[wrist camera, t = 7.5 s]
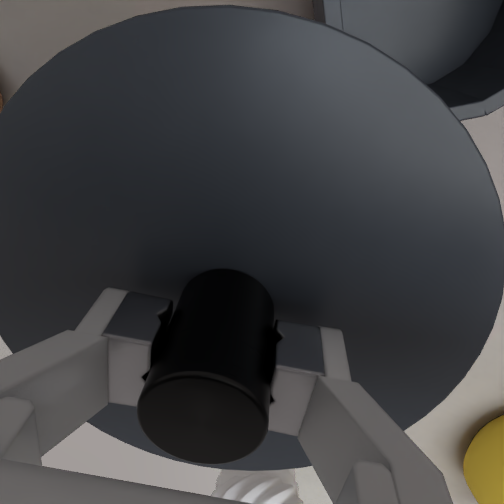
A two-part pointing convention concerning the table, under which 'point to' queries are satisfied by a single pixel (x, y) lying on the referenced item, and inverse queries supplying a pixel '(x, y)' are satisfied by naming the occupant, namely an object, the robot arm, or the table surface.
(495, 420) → the teapot
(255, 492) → the ice cream cone
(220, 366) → the lid
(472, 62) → the pot
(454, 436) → the table surface
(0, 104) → the egg
